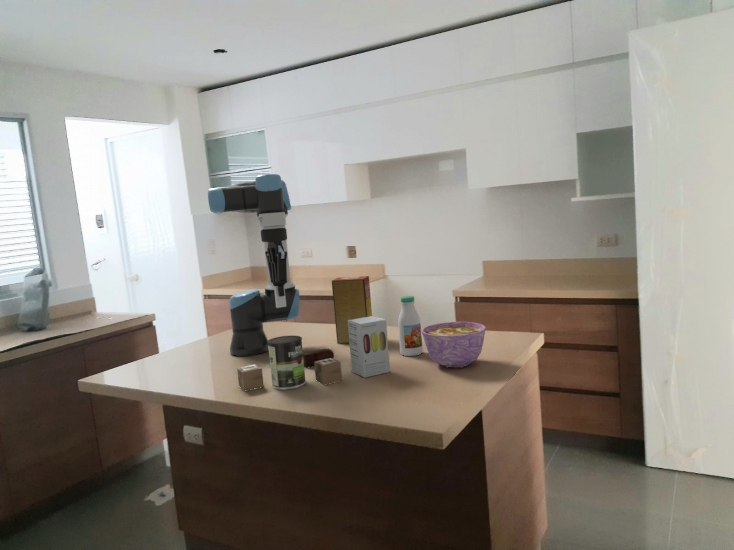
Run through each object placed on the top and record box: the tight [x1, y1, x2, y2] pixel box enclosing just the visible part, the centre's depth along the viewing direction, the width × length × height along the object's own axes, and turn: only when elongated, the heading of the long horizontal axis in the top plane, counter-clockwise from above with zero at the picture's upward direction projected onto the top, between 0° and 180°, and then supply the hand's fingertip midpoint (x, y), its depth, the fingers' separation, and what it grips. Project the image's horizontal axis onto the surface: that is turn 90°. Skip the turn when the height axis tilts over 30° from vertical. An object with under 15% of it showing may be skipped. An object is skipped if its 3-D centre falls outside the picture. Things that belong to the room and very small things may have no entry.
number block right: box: [314, 358, 343, 386], centre depth 169 cm, size 6×6×6 cm
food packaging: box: [331, 275, 373, 344], centre depth 218 cm, size 13×9×25 cm
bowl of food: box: [421, 321, 487, 368], centre depth 175 cm, size 20×20×12 cm
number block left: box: [236, 363, 265, 392], centre depth 169 cm, size 6×6×6 cm
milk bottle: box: [397, 295, 424, 357], centre depth 191 cm, size 8×8×20 cm
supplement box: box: [348, 315, 391, 379], centre depth 174 cm, size 10×9×17 cm
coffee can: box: [267, 335, 307, 391], centre depth 168 cm, size 10×10×14 cm
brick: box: [303, 348, 335, 369], centre depth 189 cm, size 11×4×5 cm, turn 122°
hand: (281, 306), depth 166 cm, fingers closed
